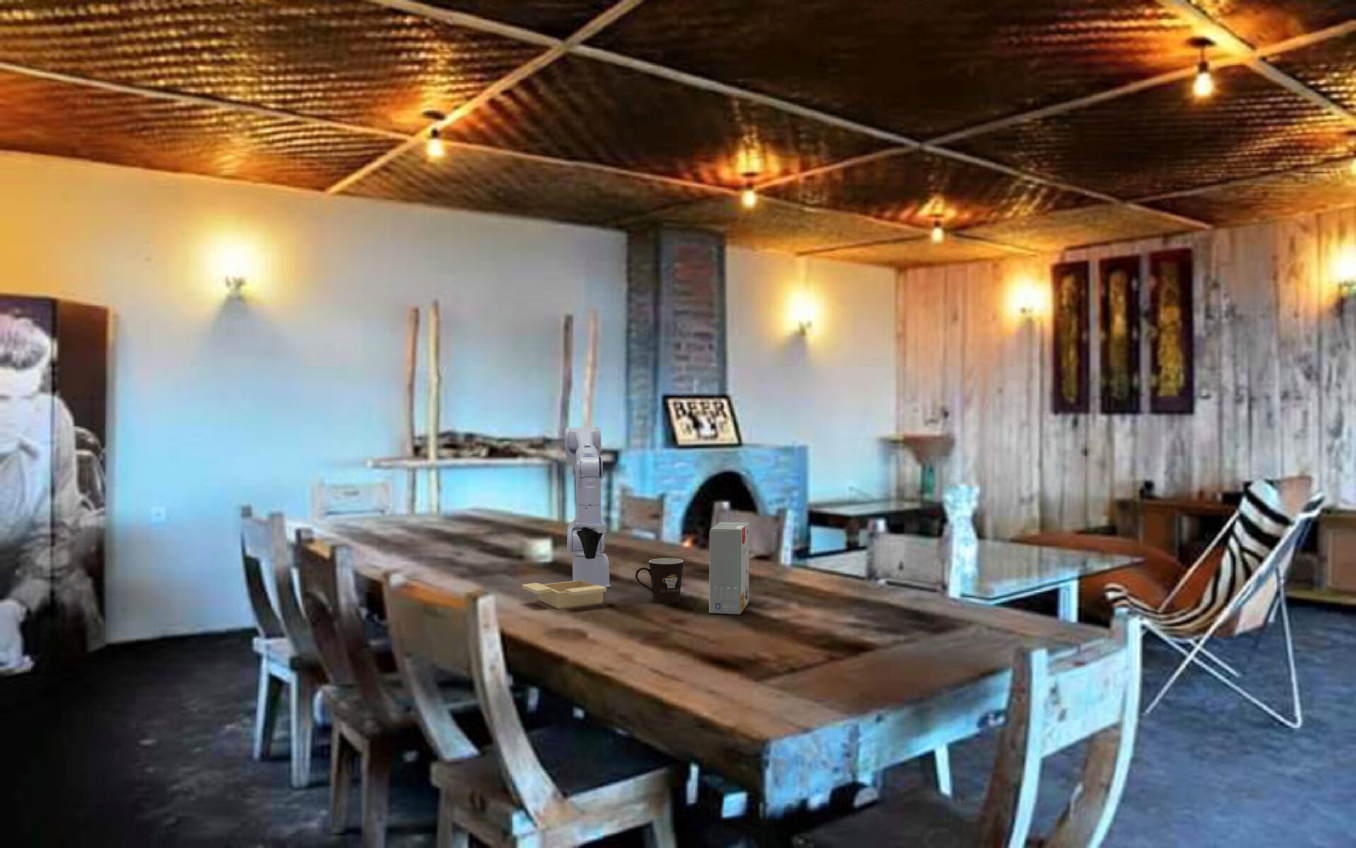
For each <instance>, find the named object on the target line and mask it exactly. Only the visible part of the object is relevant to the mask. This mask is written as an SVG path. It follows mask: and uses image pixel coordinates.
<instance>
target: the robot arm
mask: <svg viewBox="0 0 1356 848" xmlns="http://www.w3.org/2000/svg"><path fill="white" fill-rule="evenodd" d="M601 447H602V431H601V428H600V427H599V426H596V427H595V426H593V427H592V426H591V427H590V426H589V427H584V426H583V427H569V426H566V427H565V429H564V449H565V451H564V452H565V456H566V460H568V461H569V462H572V465H573V468H574V474H575V496H576V499H575V500H576V518H574V519H573V520H572V521H571V522H569V524H568V525H567V532H566V543H567V544H566V546H567V548H566V549H567V552H568V554H571V555H572V559H571V561H572V581H577V580H584V581H586V582H589V583H592V584H595V585H600V586H603V587H605V588H611V587H612V586H611V584H610V561H609V557H608V556H607V554H606V553H604V551H605V546H606V545H605V543H606V541H605V533H607V524H605V523H604V522H602V485H601V484H602V482H601V479H603V473H604V470H603V469H604V467H603V466H604V465H603V458H602V456H601Z"/></svg>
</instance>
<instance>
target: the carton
mask: <svg viewBox="0 0 1356 848" xmlns="http://www.w3.org/2000/svg"><path fill="white" fill-rule="evenodd" d="M541 584H542V585H544V586H547V587H549V588H551V589H552V592H547V593H540V594H538V602H540V603H543V604H544V605H547V606H550V607H552V608H554V609H556V610H564V609H565V610H567V609H571V608H572V609H573V608H579V607H588V606H594V605H603V604H604V592H597V593H589V594H581V595H570V594H568V593H566V589H571V588H579V587H588V586H596V585H595V584H592V583H589V582H586V581H584V580H577V581H573V580H571V581H569V580H568V581H561V582H553V583H541Z"/></svg>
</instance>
